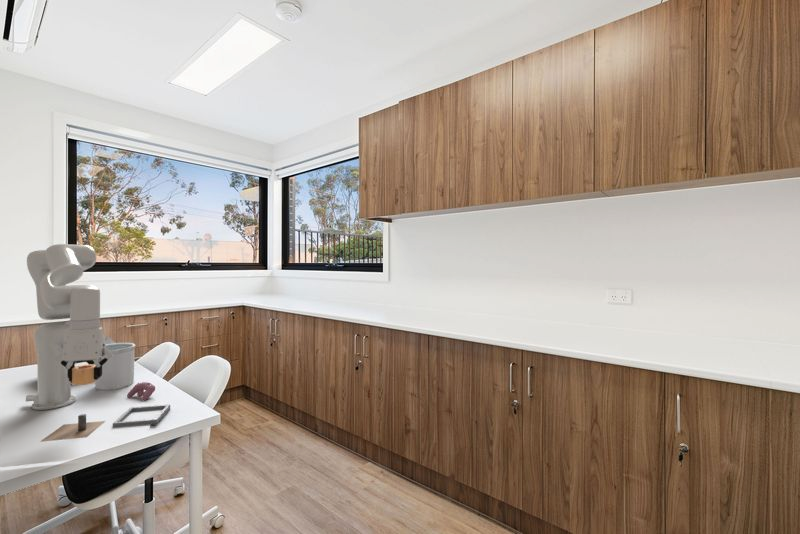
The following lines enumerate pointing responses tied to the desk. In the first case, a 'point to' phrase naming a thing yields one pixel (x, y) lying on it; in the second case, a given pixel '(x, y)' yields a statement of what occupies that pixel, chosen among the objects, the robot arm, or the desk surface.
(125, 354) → the utensil holder
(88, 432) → the base
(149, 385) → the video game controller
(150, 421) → the tray
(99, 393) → the desk surface
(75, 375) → the collar
